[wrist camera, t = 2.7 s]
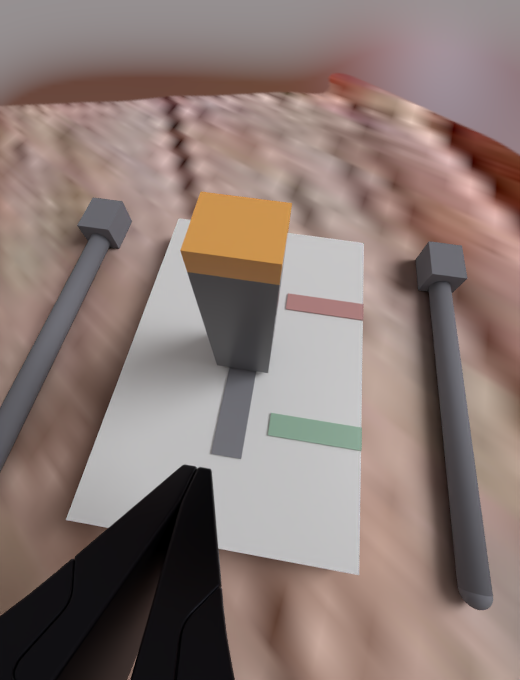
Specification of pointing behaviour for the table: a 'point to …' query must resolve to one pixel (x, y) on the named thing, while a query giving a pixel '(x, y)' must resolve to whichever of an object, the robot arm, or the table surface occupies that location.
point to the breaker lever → (237, 274)
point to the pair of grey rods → (440, 281)
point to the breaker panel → (246, 413)
